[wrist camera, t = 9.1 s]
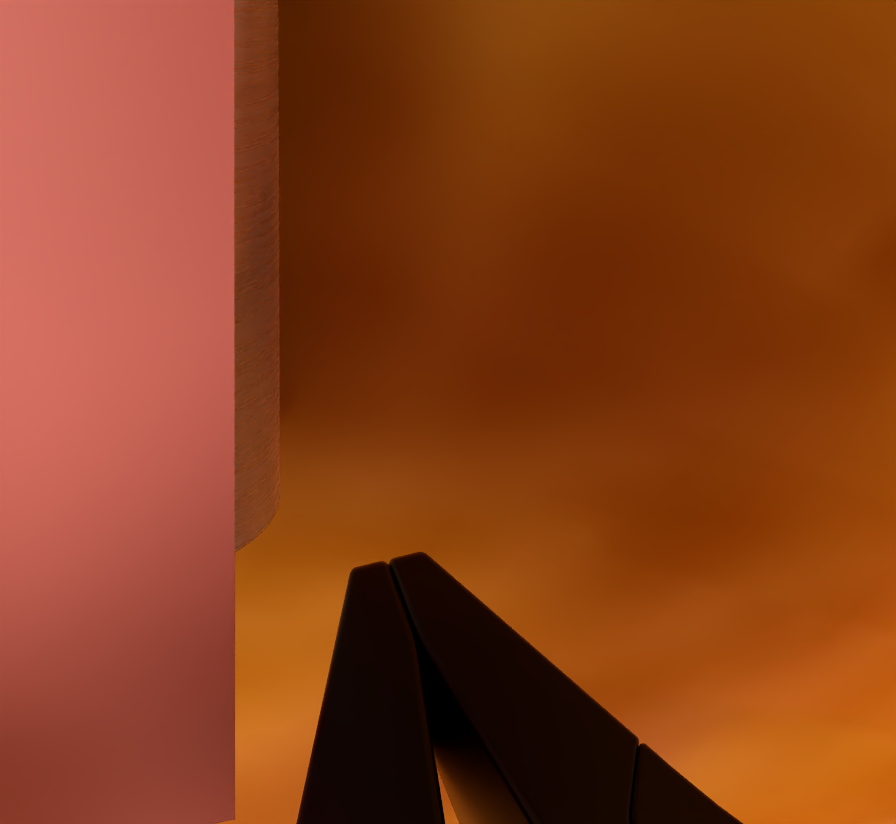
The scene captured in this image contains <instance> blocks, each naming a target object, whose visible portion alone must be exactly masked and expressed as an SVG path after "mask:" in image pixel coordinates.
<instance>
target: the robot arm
mask: <svg viewBox="0 0 896 824" xmlns="http://www.w3.org/2000/svg"><path fill="white" fill-rule="evenodd" d="M638 746H639V747H638ZM436 766H437V767H436ZM437 769H438V771H439V774H440V776H441V779H442V781H443V784H444V786H445V789H446V791H447V794H448V796H449V799H450V801H451V804H452V806H453V809H454V811H455V814H456V816H457V819H458V821H459V824H743V823H742V822H740V821H739V820H737V819H736V818H735V817H733V816H732V815H731V814H729V813H728V812H727V811H725V810H724V809H723V808H721V807H720V806H718V805H717V804H716V803H715V802H714V801H712V800H711V799H710V798H709V797H708V796H706V795H705V794H704V793H703V792H701V791H700V790H699V789H698V788H697V787H695V786H694V785H693V784H692V783H691V782H689V781H688V780H687V779H686V778H684V777H683V776H682V775H681V774H680V773H678V772H677V771H676V770H675V769H673V768H672V767H671V766H670V765H669V764H668V763H667V762H666V761H664V760H663V759H662V758H661V757H660V756H659V755H658V754H656V753H655V752H654V751H653V750H652V749H651V748H650V747H648V746H647V745H646V744H644V743H642V744H640V745H639V739H638V738H637V737H636V736H635V735H634V734H633V733H632V732H631V731H630V730H628V729H627V728H626V727H625V726H624V725H623V724H622V723H620V722H619V721H618V720H617V719H616V718H615V717H614V716H612V715H611V714H610V713H609V712H608V711H607V710H605V709H604V708H603V707H602V706H601V705H600V704H599V703H597V702H596V701H595V700H594V699H593V698H592V697H591V696H589V695H588V694H587V693H586V692H585V691H584V690H582V689H581V688H580V687H579V686H578V685H577V684H576V683H574V682H573V681H572V680H571V679H570V678H569V677H568V676H566V675H565V674H564V673H563V672H562V671H561V670H559V669H558V668H557V667H556V666H555V665H554V664H553V663H551V662H550V661H549V660H548V659H547V658H546V657H545V656H543V655H542V654H541V653H540V652H539V651H538V650H536V649H535V648H534V647H533V646H532V645H531V644H530V643H528V642H527V641H526V640H525V639H524V638H523V637H522V636H520V635H519V634H518V633H517V632H516V631H515V630H513V629H512V628H511V627H510V626H509V625H508V624H507V623H505V622H504V621H503V620H502V619H501V618H500V617H499V616H497V615H496V614H495V613H494V612H493V611H492V610H490V609H489V608H488V607H487V606H486V605H485V604H484V603H482V602H481V601H480V600H479V599H478V598H477V597H476V596H474V595H473V594H472V593H471V592H470V591H469V590H468V589H466V588H465V587H464V586H463V585H462V584H461V583H459V582H458V581H457V580H456V579H455V578H454V577H453V576H451V575H450V574H449V573H448V572H447V571H446V570H445V569H443V568H442V567H441V566H440V565H439V564H438V563H436V562H435V561H434V560H433V559H432V558H431V557H430V556H428V555H427V554H426V553H423V552H416V553H412V554H408V555H404V556H400V557H396V558H393V559H391V560H390V562H389V565H388V564H387V563H386V562H384V561H379V562H375V563H371V564H367V565H363V566H359V567H355V568H354V569H352V571H351V573H350V575H349V580H348V585H347V589H346V594H345V599H344V603H343V608H342V613H341V617H340V622H339V627H338V632H337V636H336V641H335V646H334V650H333V655H332V660H331V664H330V669H329V674H328V678H327V683H326V688H325V693H324V697H323V702H322V707H321V711H320V716H319V721H318V725H317V730H316V735H315V739H314V744H313V749H312V754H311V758H310V763H309V768H308V772H307V777H306V782H305V786H304V791H303V796H302V800H301V805H300V810H299V815H298V819H297V824H445V819H444V813H443V806H442V800H441V793H440V787H439V780H438V773H437Z"/></svg>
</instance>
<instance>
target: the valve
mask: <svg viewBox="0 0 896 824" xmlns="http://www.w3.org/2000/svg"><path fill="white" fill-rule="evenodd" d="M234 356H235V552H236V551H238V550H239V549H241V548H243V547H244V546H245V545H247V544H248V543H250V542H251V541H252V540H254V539H255V538H256V537H257V536H258V535H259V534H260V533H261V532H262V531H263V530H264V529H265V528H266V526H267V525H268V524H269V523H270V521H271V520H272V518H273V516H274V514H275V513H276V510H277V507H278V504H279V498H280V363H279V58H278V0H234Z"/></svg>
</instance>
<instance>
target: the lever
mask: <svg viewBox="0 0 896 824" xmlns="http://www.w3.org/2000/svg"><path fill="white" fill-rule="evenodd" d="M229 820H235V356H234V0H0V824H213V823H219V822H224V821H229Z"/></svg>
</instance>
